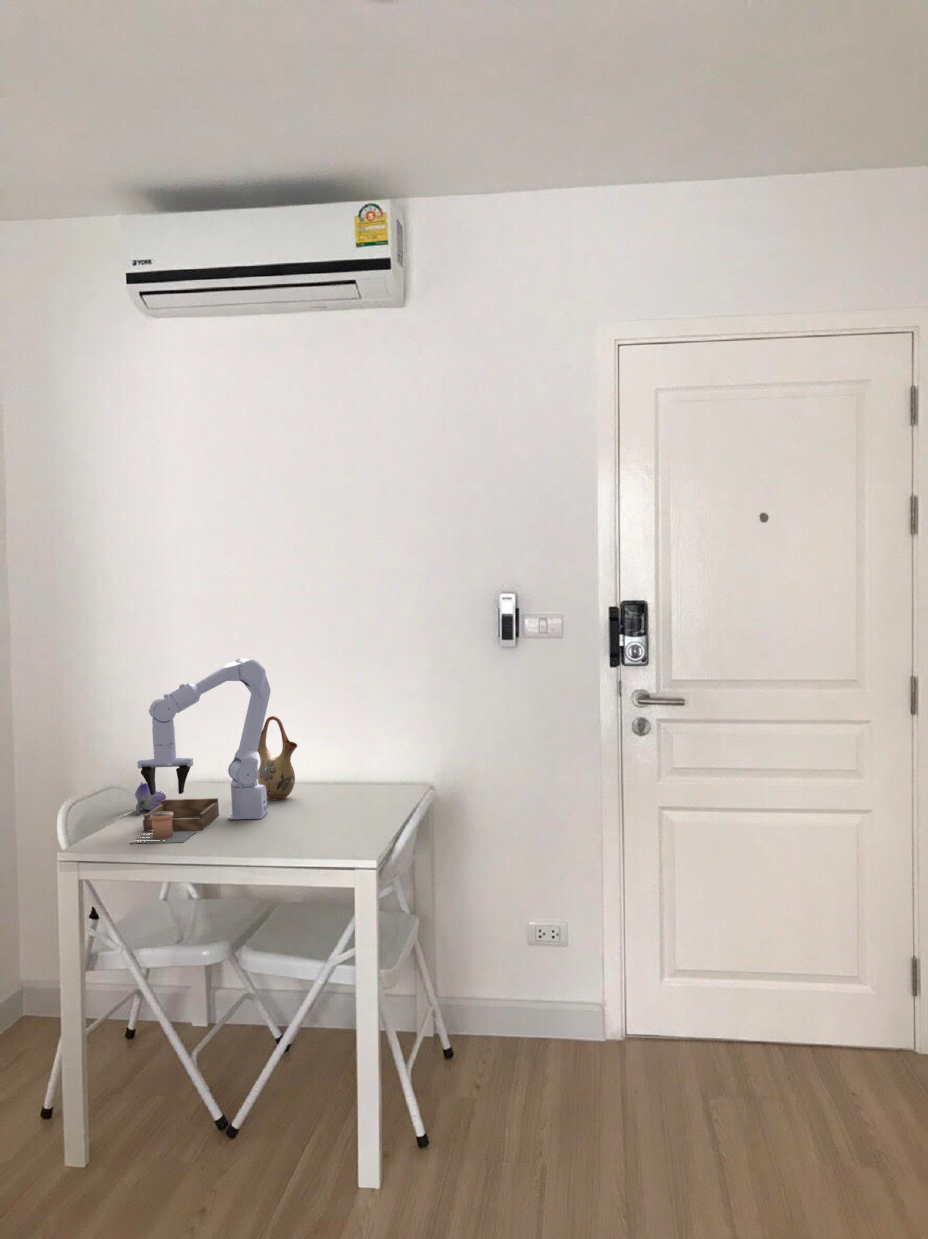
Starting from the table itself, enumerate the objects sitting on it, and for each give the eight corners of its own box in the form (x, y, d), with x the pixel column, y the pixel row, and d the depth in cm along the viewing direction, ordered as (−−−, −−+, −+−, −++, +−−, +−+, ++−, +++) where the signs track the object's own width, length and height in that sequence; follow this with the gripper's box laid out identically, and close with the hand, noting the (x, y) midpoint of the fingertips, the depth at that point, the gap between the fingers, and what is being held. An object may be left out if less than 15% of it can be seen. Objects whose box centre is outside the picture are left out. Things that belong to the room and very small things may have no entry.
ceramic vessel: (308, 797, 303) (304, 714, 301) (289, 804, 295) (285, 719, 293) (265, 793, 310) (261, 712, 309) (246, 799, 303) (242, 717, 301)
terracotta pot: (174, 832, 266) (172, 809, 266) (174, 838, 261) (173, 814, 260) (151, 835, 264) (149, 812, 264) (151, 840, 259) (150, 817, 258)
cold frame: (218, 815, 284) (218, 798, 283) (202, 829, 269) (201, 811, 269) (163, 817, 285) (162, 799, 284) (143, 831, 270) (142, 812, 269)
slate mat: (195, 832, 266) (195, 831, 266) (183, 842, 256) (183, 842, 256) (143, 833, 267) (143, 832, 267) (129, 844, 257) (129, 843, 257)
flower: (146, 794, 284) (154, 773, 293) (121, 806, 286) (129, 784, 295) (166, 816, 288) (173, 794, 297) (141, 828, 290) (148, 806, 299)
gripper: (195, 740, 275) (198, 789, 275) (142, 742, 275) (145, 791, 276) (187, 744, 268) (190, 795, 268) (133, 746, 268) (136, 797, 269)
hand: (167, 793), depth 272 cm, fingers open, 7 cm apart
